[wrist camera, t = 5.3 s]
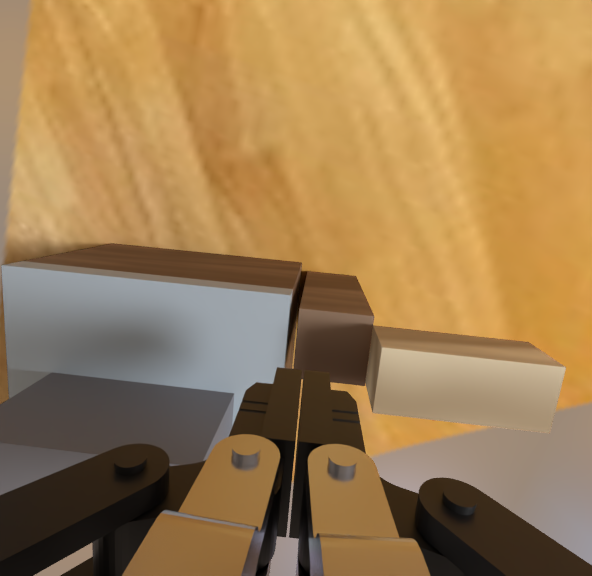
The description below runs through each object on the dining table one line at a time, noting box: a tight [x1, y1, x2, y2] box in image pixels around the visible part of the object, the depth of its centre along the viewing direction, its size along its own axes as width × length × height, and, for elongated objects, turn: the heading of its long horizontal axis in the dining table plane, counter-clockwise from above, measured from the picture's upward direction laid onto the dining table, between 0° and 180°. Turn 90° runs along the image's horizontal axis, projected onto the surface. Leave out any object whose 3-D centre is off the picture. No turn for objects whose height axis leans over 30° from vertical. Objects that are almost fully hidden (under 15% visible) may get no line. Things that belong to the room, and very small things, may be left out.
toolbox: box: [25, 244, 374, 386], centre depth 22 cm, size 12×15×9 cm
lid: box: [0, 261, 293, 495], centre depth 17 cm, size 12×12×7 cm
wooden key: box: [365, 326, 566, 433], centre depth 15 cm, size 2×6×2 cm, turn 85°
